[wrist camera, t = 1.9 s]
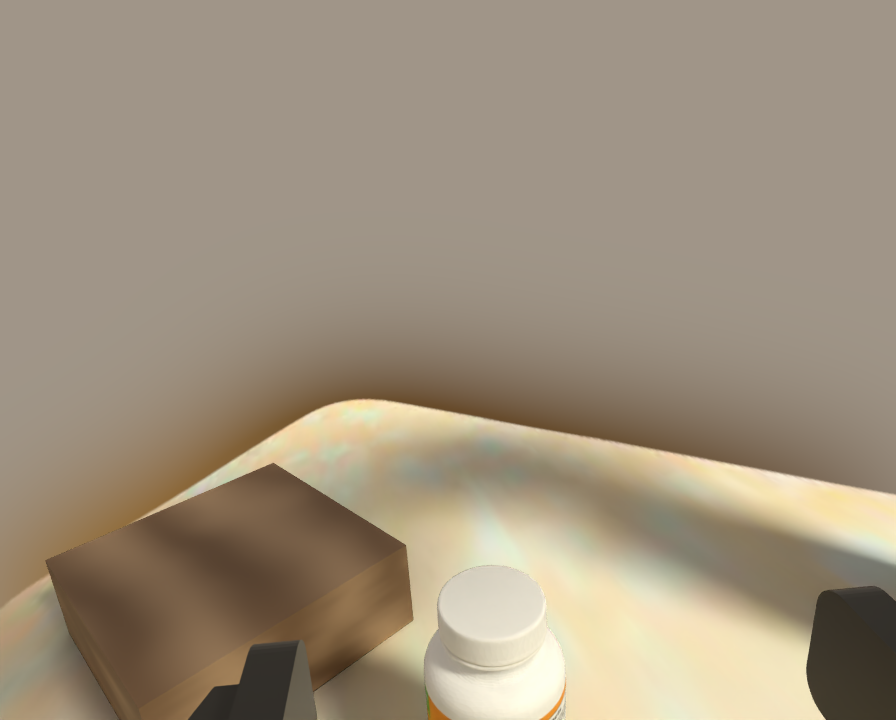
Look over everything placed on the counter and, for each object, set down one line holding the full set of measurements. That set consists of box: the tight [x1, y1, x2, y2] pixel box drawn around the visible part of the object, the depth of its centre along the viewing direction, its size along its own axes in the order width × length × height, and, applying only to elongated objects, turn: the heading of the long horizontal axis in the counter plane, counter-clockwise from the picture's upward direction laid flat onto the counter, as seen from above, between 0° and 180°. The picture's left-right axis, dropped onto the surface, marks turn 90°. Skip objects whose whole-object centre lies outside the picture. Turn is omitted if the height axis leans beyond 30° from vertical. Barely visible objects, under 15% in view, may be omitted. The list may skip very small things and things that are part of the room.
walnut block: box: [46, 463, 413, 720], centre depth 36 cm, size 14×14×5 cm
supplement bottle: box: [424, 565, 566, 720], centre depth 25 cm, size 5×5×10 cm
